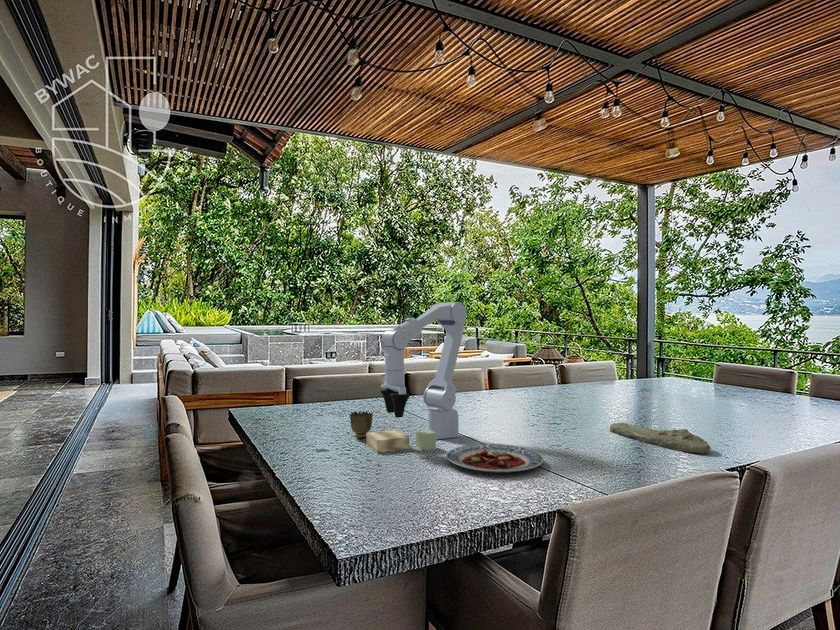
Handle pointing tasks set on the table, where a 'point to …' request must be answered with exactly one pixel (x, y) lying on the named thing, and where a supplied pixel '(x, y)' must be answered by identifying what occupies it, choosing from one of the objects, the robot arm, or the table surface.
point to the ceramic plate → (495, 458)
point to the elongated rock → (663, 437)
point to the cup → (361, 423)
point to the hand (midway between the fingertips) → (394, 414)
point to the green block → (425, 439)
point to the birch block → (387, 441)
